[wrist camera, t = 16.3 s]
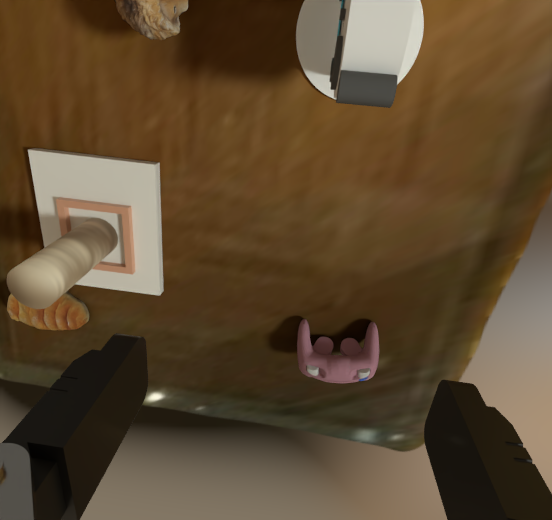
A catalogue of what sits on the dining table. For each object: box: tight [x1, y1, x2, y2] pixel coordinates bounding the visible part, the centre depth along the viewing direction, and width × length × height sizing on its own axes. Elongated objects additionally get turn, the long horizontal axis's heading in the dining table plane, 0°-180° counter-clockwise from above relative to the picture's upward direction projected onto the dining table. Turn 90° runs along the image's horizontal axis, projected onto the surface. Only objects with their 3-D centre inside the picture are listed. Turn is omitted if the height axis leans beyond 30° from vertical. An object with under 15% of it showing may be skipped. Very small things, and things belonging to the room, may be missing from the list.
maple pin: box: [7, 218, 118, 309], centre depth 40 cm, size 4×4×12 cm
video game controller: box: [297, 319, 379, 383], centre depth 47 cm, size 10×5×7 cm, turn 91°
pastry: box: [7, 291, 89, 330], centre depth 50 cm, size 9×7×4 cm
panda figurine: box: [296, 0, 424, 108], centre depth 29 cm, size 12×11×15 cm
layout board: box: [28, 148, 163, 295], centre depth 45 cm, size 16×14×2 cm
